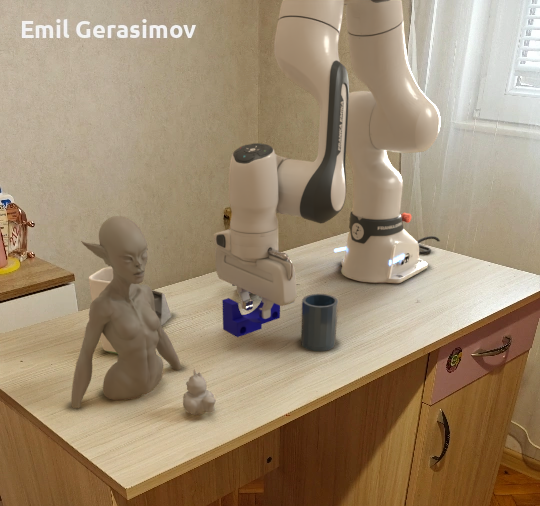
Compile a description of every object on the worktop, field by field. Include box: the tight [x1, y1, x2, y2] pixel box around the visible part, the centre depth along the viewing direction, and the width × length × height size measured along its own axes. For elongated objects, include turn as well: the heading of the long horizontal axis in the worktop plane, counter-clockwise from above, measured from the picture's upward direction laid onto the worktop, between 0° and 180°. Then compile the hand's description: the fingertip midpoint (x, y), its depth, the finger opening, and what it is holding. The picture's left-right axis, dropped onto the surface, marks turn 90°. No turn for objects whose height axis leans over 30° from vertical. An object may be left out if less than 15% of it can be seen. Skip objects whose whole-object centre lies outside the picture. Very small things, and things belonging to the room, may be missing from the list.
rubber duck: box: [182, 368, 217, 416], centre depth 118 cm, size 5×7×8 cm
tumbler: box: [300, 293, 339, 352], centre depth 140 cm, size 7×7×9 cm
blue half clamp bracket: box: [221, 297, 281, 338], centre depth 139 cm, size 12×4×6 cm, turn 130°
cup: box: [88, 266, 118, 355], centre depth 136 cm, size 7×7×15 cm
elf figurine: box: [70, 215, 182, 409], centre depth 118 cm, size 23×10×30 cm, turn 133°
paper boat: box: [151, 289, 173, 327], centre depth 151 cm, size 12×6×9 cm
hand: (255, 313), depth 140 cm, fingers closed on blue half clamp bracket, 4 cm apart
